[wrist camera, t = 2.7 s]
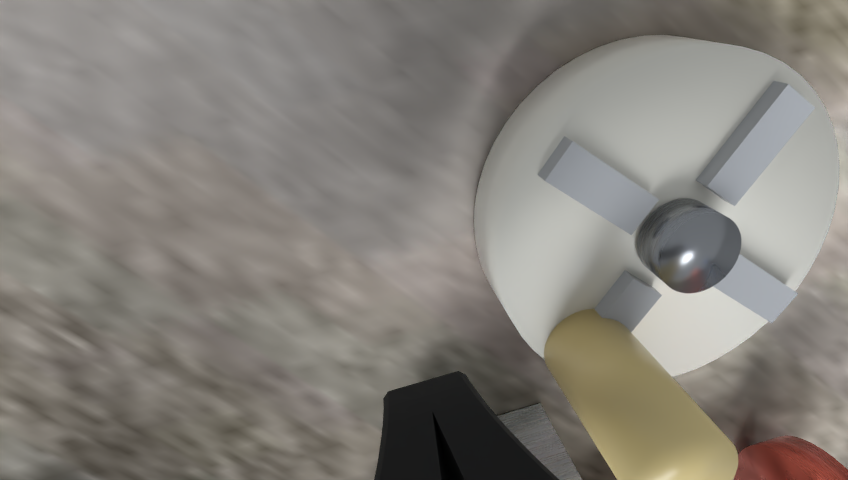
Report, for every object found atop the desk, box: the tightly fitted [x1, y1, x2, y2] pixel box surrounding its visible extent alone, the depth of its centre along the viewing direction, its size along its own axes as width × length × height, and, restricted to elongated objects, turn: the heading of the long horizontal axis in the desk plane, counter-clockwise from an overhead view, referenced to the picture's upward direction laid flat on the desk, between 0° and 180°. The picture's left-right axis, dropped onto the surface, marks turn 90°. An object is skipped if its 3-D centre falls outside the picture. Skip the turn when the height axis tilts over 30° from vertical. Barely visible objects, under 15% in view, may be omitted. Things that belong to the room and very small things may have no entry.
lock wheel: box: [474, 35, 840, 480], centre depth 12 cm, size 8×8×6 cm
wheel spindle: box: [637, 198, 741, 293], centre depth 12 cm, size 2×2×1 cm
